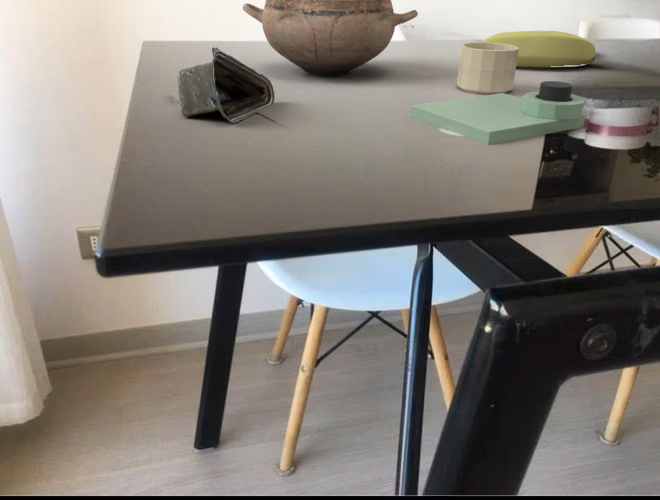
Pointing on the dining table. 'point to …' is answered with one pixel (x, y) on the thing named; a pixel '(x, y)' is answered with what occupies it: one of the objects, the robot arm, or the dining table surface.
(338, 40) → the cooking pot
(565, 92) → the button
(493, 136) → the scale
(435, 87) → the dining table surface
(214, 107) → the hollow triangular tube
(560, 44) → the banana
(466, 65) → the beige faceted cup
